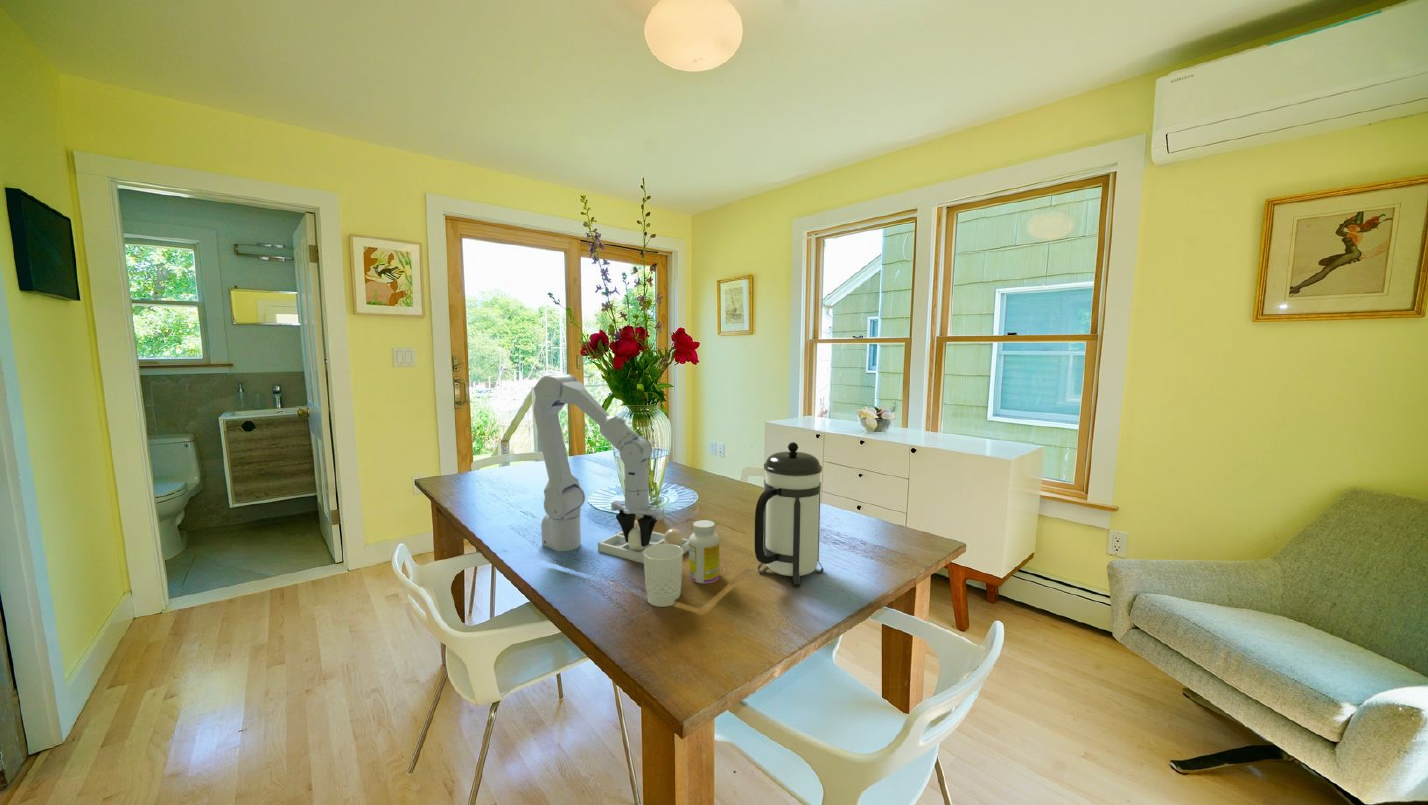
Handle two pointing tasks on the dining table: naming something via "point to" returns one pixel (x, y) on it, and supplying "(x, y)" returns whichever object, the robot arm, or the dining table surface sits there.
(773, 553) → the coffee press
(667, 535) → the brown egg back right
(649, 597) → the white cup
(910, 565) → the dining table surface
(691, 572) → the supplement bottle
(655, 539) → the egg carton
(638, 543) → the cream egg
